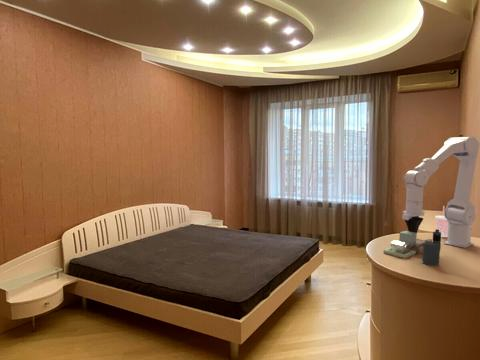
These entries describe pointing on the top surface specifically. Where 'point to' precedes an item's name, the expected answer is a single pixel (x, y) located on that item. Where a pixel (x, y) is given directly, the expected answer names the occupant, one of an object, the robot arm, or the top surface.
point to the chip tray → (405, 255)
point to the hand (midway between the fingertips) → (412, 235)
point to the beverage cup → (442, 224)
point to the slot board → (419, 246)
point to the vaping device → (432, 249)
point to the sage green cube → (408, 237)
